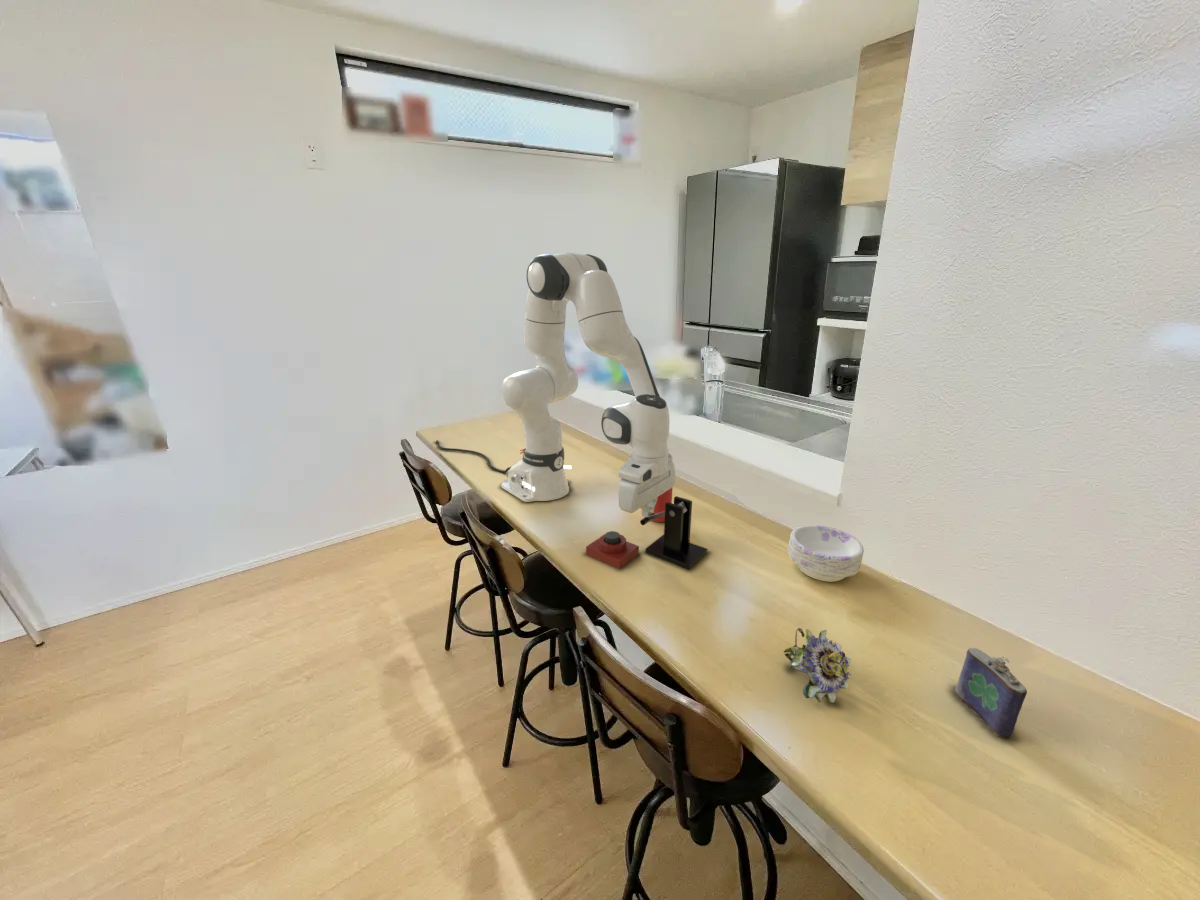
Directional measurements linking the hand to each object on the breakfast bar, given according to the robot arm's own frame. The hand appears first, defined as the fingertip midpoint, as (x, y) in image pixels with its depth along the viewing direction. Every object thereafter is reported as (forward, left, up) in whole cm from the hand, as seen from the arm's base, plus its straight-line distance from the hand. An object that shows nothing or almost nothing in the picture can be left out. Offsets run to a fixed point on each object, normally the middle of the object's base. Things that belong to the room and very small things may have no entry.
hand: (647, 514), depth 123 cm
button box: (-4, -10, -8) cm, 13 cm away
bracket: (+8, 0, -8) cm, 12 cm away
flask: (+69, -11, -8) cm, 71 cm away
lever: (+5, 0, +1) cm, 5 cm away
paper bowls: (+38, +14, -8) cm, 42 cm away
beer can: (-5, +13, -8) cm, 16 cm away
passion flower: (+46, -21, -8) cm, 52 cm away
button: (-4, -10, -4) cm, 11 cm away
